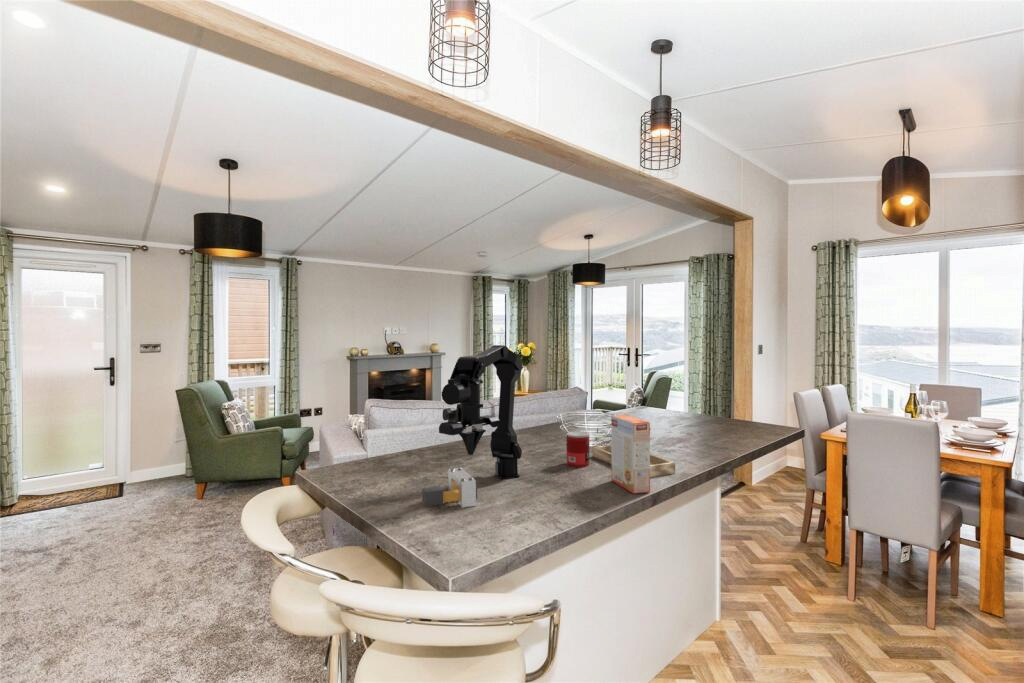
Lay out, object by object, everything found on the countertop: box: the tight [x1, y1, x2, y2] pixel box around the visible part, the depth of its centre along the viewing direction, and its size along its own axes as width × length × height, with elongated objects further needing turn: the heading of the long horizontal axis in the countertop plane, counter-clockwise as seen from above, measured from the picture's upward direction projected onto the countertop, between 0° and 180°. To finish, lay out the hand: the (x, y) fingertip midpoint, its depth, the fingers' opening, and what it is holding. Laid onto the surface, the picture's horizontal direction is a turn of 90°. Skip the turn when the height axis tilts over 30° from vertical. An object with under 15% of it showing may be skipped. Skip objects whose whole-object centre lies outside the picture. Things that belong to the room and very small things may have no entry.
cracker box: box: [610, 414, 651, 495], centre depth 147 cm, size 14×6×21 cm, turn 15°
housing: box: [447, 467, 477, 509], centre depth 139 cm, size 4×14×7 cm, turn 22°
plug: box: [421, 485, 478, 507], centre depth 137 cm, size 15×4×4 cm, turn 112°
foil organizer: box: [592, 444, 676, 478], centre depth 172 cm, size 13×30×4 cm, turn 22°
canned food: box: [566, 430, 590, 468], centre depth 173 cm, size 8×8×11 cm
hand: (470, 454), depth 139 cm, fingers closed
